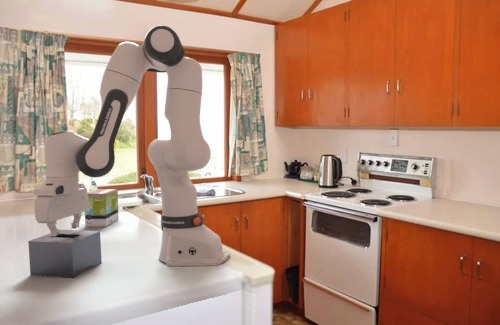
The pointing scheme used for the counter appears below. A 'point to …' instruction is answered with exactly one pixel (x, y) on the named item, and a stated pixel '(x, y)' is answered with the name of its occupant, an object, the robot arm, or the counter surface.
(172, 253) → the robot arm
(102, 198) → the tea box
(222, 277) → the counter surface
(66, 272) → the money box
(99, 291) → the counter surface
